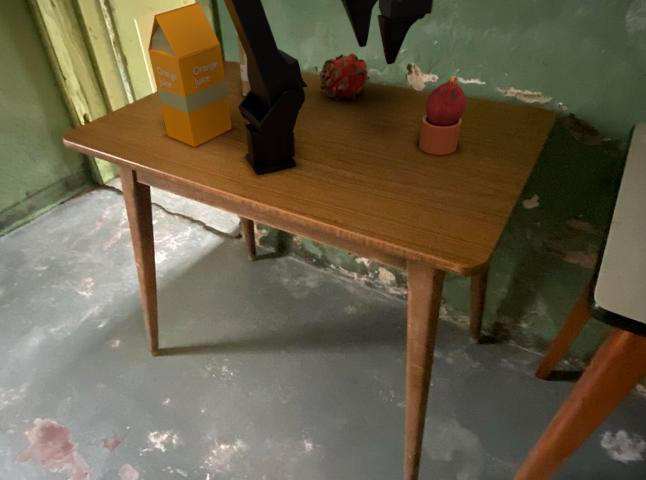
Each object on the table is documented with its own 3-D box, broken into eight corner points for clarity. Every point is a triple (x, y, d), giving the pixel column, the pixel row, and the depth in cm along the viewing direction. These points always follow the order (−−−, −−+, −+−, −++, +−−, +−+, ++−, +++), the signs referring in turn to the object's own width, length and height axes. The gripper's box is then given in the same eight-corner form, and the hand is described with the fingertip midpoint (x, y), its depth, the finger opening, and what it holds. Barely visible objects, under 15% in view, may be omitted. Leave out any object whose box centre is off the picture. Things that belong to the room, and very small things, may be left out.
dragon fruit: (318, 113, 94) (358, 103, 101) (348, 95, 88) (389, 85, 94) (302, 70, 93) (344, 62, 100) (331, 48, 86) (374, 42, 93)
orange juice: (232, 128, 88) (216, 4, 75) (194, 147, 83) (170, 18, 70) (203, 118, 92) (183, -1, 79) (166, 135, 87) (138, 11, 74)
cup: (431, 158, 76) (436, 130, 73) (412, 142, 80) (415, 116, 77) (463, 150, 77) (469, 123, 74) (442, 135, 81) (447, 109, 78)
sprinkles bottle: (242, 91, 101) (234, 20, 92) (264, 89, 101) (258, 18, 92) (243, 99, 97) (235, 27, 89) (265, 97, 98) (260, 24, 89)
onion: (458, 139, 74) (476, 86, 69) (420, 133, 75) (435, 80, 70) (456, 124, 78) (472, 73, 73) (419, 118, 79) (433, 67, 74)
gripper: (480, -68, 60) (457, 65, 70) (403, -81, 73) (393, 32, 83) (398, -58, 57) (386, 77, 67) (335, -74, 71) (333, 41, 81)
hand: (375, 54), depth 75 cm, fingers open, 9 cm apart
